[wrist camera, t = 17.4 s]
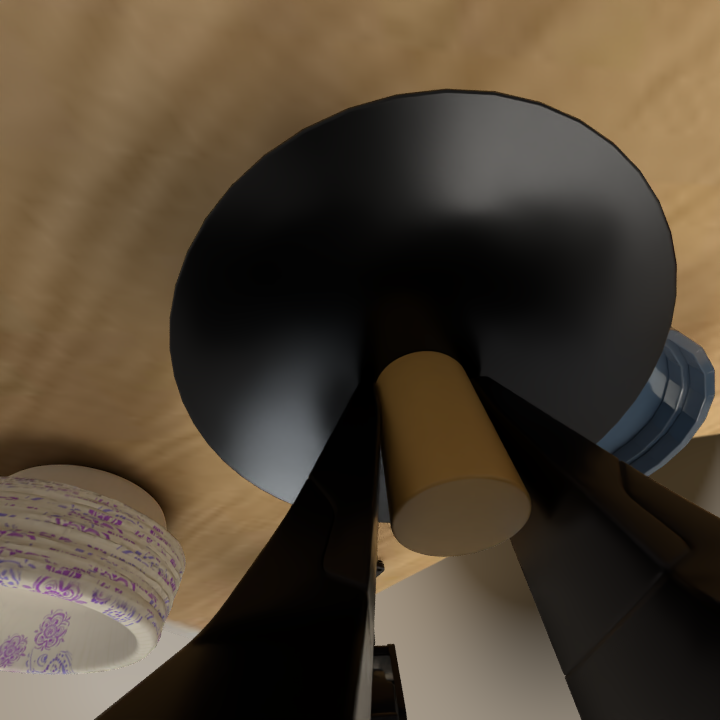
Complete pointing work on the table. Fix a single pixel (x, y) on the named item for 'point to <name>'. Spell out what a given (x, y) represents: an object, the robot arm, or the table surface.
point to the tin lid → (423, 300)
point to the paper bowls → (82, 571)
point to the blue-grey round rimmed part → (665, 407)
